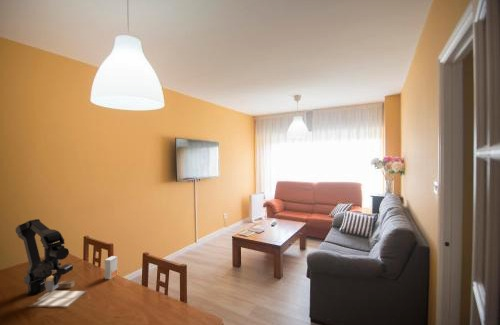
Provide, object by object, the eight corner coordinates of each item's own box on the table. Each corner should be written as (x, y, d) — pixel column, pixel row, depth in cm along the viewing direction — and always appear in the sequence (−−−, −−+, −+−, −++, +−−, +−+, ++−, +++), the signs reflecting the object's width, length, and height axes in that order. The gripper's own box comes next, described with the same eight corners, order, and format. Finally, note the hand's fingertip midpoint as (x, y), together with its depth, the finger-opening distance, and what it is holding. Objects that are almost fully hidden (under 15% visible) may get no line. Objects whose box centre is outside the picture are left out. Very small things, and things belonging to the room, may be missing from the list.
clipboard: (28, 306, 116) (28, 304, 116) (53, 290, 130) (53, 288, 130) (67, 307, 115) (67, 305, 115) (87, 291, 129) (87, 289, 129)
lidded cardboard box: (45, 290, 121) (45, 278, 121) (52, 286, 124) (51, 275, 124) (52, 290, 121) (52, 278, 121) (58, 287, 124) (58, 275, 124)
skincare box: (110, 279, 142) (110, 260, 141) (104, 278, 143) (104, 259, 142) (117, 274, 148) (117, 256, 147) (112, 274, 148) (111, 255, 148)
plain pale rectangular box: (57, 288, 132) (57, 284, 132) (61, 285, 135) (61, 281, 135) (71, 287, 133) (71, 283, 133) (74, 284, 136) (74, 280, 136)
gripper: (19, 262, 114) (19, 293, 115) (55, 263, 114) (55, 294, 114) (40, 253, 126) (40, 281, 126) (73, 253, 125) (73, 282, 125)
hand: (52, 284), depth 123 cm, fingers closed on lidded cardboard box, 4 cm apart
